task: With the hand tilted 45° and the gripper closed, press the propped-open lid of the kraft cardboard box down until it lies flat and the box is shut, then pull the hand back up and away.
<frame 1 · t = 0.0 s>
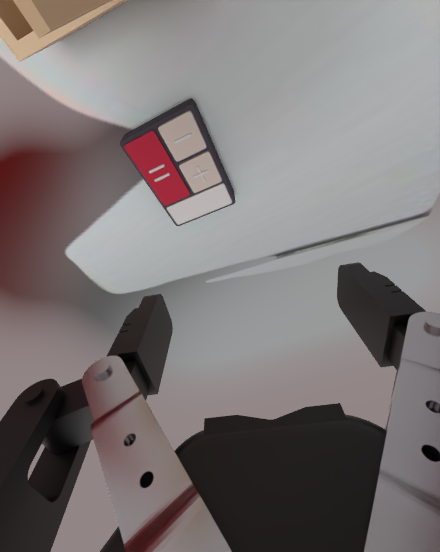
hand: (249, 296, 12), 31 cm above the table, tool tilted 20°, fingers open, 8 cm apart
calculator: (184, 164, 39), on the table
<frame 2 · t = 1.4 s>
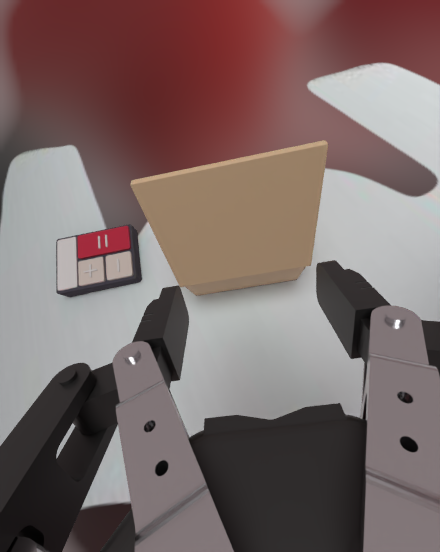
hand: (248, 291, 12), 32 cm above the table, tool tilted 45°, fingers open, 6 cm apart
box: (238, 246, 47), on the table
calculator: (105, 263, 51), on the table
lid: (236, 230, 29), point 18 cm above the table, hinge at 65.0°
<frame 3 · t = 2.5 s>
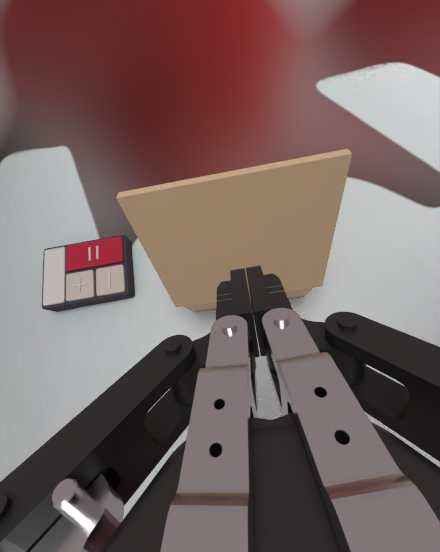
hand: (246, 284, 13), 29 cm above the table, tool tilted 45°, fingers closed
box: (241, 258, 44), on the table
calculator: (96, 276, 47), on the table
lid: (239, 248, 25), point 18 cm above the table, hinge at 65.0°
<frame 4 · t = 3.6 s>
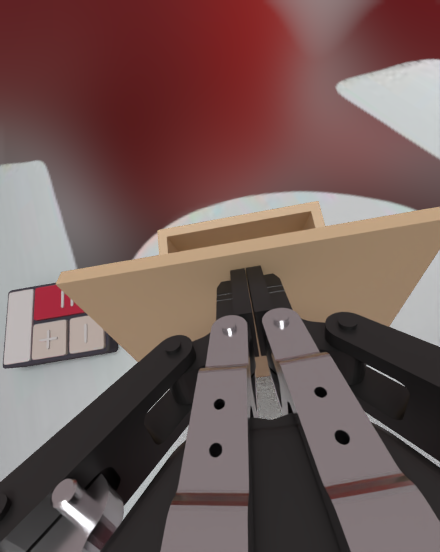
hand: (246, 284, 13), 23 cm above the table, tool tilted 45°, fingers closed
box: (249, 301, 35), on the table
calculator: (72, 321, 39), on the table
lid: (254, 330, 17), point 18 cm above the table, hinge at 64.3°, touching gripper
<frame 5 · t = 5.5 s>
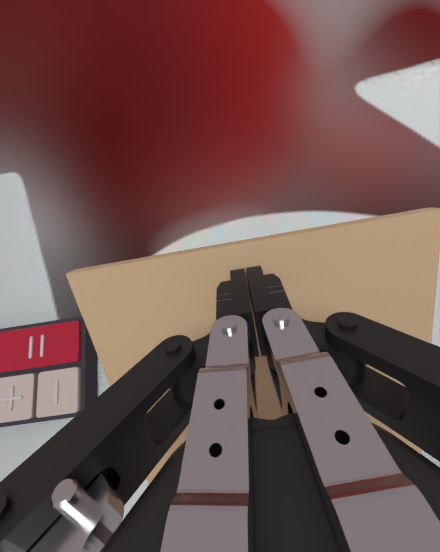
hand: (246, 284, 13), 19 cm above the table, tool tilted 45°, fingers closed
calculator: (46, 369, 33), on the table
lid: (262, 373, 15), point 15 cm above the table, hinge at 34.0°, touching gripper
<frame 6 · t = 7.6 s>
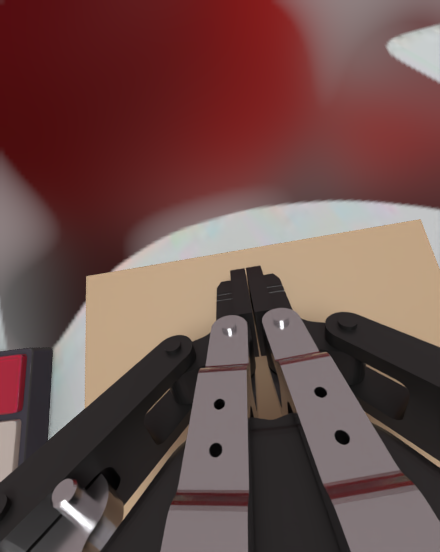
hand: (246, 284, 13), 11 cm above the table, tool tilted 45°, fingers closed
lid: (269, 409, 12), point 11 cm above the table, hinge at 0.2°, touching gripper
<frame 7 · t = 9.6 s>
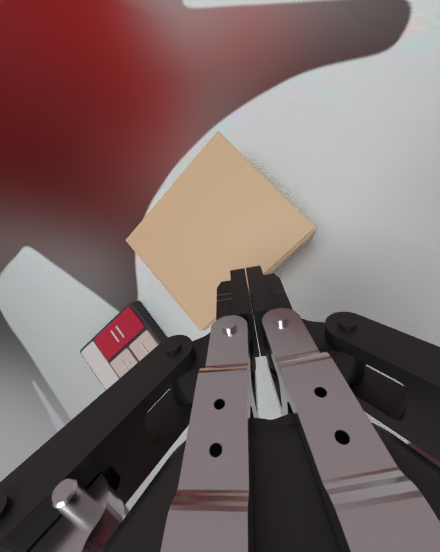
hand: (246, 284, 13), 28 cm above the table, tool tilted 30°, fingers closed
box: (232, 241, 41), on the table
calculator: (133, 345, 49), on the table
lid: (210, 234, 31), point 11 cm above the table, hinge at 0.2°
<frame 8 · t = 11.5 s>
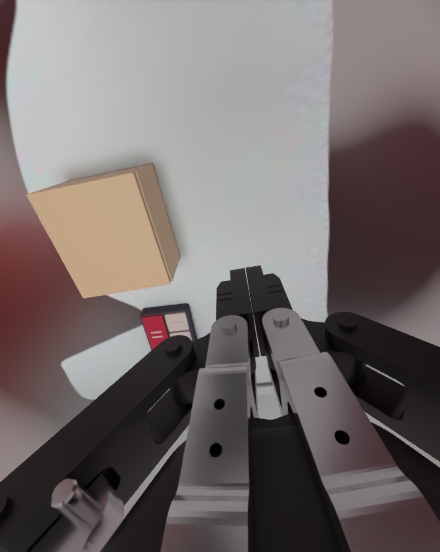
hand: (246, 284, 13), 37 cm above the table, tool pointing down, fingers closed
box: (127, 221, 49), on the table
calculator: (173, 328, 63), on the table
lid: (105, 242, 40), point 11 cm above the table, hinge at 0.2°
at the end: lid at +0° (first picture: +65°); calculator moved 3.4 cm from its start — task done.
